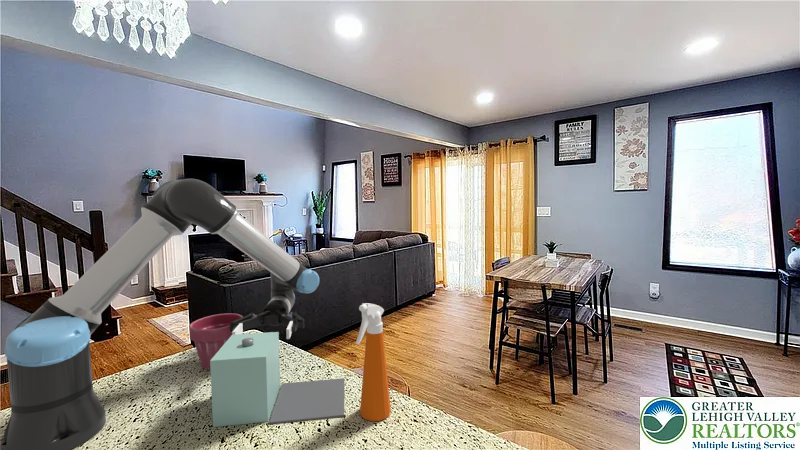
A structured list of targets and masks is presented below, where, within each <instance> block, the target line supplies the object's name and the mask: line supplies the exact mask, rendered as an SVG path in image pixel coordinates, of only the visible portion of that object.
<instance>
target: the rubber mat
mask: <svg viewBox="0 0 800 450" xmlns="http://www.w3.org/2000/svg"><path fill="white" fill-rule="evenodd" d="M342 417H345V378H331V379H319V380H309V381H308V380H307V381H296V382H283V383H281V385H280V389H279V392H278V394H277V397H276V400H275V403H274V406H273V409H272V412H271V415H270V417H269V420H268V425H273V424H274V425H275V424H285V423H286V424H287V423H295V422H301V421H315V420H322V419H333V418H342Z"/></svg>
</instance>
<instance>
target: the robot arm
mask: <svg viewBox="0 0 800 450" xmlns="http://www.w3.org/2000/svg"><path fill="white" fill-rule="evenodd" d="M140 209H141V211H140V212H141V216H140V218H139V219H138V220H137V221H136V222H135V223H134V224H133V225H131V226H130V228H128V230H127V231H126V232H125V233H124V234H123V235H122V236H121V237H120V238H119V239H118V240H116V242H115V243H114V244H113V245H112V246H111V247H109V249H108V250H107V251H106V252H105V253H104V254H103V255H102V256H100V257H99V259H98V260H97V261H96V262H95V263H94V264H93V265H92V266H91V267H90V268H89V269H88V270H87V271H85V273H84V274H83V275H82V276H80V278H79V279H78V280H77V281H76V282H75V283H74V284H72V286H70V288H68V290H67V291H65V292H64V294H62V295H59V296H54V297H49V298H48V299H47V300H46V301H45V302H44V303H43V304H42V305H41V306H40V307H39V308H38V309H37V310H36V311H34V312H33V313H32V314H29V315H28V316H26V317H25V318H23V319H22V320H20V321H19V322H18V324H16V325H15V327H14V328H13V330H12V331H11V332H10V333H9V334H8V336H7V337H6V340H5V345H4V350H3V351H4V352H3V353H4V356H5V357H6V363H7V364H6V365H7V366H6V367H7V376H8V388H9V389H8V390H9V400H10V402H9V403H10V411H11V413H10V416H9V418H8V422H7V425H6V428H5V430H4V433H3V437H2V439H1V442H0V450H73V449H74V448H76V447H78V446H80V445H83V444H84V443H86V442H87V441H89V440H91V439H92V438H93V437H94V436H96V435H97V434H98V433H100V431H101V430H102V429H103V428H104V426H105V425H106V422H107V417H106V416H107V415H106V409H105V407H104V405H102V403H101V400H100V399H99V397H98V396H97V393H96V392H95V389H94V388H93V387H94V386H93V385H94V384H93V371H92V370H93V369H92V359H91V358H92V357H91V356H92V355H91V343H90V342H91V341H90V340H91V335H92V334H93V333H94V332H95V330H97V328H98V327H100V325H101V324H102V322H103V321H102V313H103V312H104V311H105V310H106V309H107V308H108V307H109V305H111V303H112V302H113V301H114V300H115V299H116V298H117V297H118V296H119V294H121V292H122V291H123V290H125V288H126V287H127V286H128V285H129V284H131V282H132V281H133V280H134V278H135V277H136V276H138V274H139V273H140V272H141V271H142V270H143V269H144V268H145V267H146V265H147V264H148V263H149V262H150V261H151V260H152V259H153V258H154V257H155V256H156V255H157V254H158V252H159V251H160V250H161V249H162V248H163V247H164V246H165V245H166V244H167V243H168V242H169V240H170V239H172V237H174V236H182V235H183V234H184V233H185V232H186V231H187V230H188V228H189V227H190V226H191V225H195V226H197V227H200V228H202V229H203V230H205V231H207V232H208V233H209V234H211V235H215V234H217V235H219V236H220V237H221V238H222V239H225V241H227V242H228V243H230V244H232V246H234V247H235V248H237V249H238V250H239V251H241V252H242V253H244V254H245V255H246V256H248V257H249V258H250V259H252V260H253V261H255V262H256V263H258V264H259V265H260V266H261V267H263V268H264V269H266V270H267V271H268V272H270V301H268V303H267V304H266V305H265V307H263V310H262V312H261V313H259V314H255V312H249V313H248V314H247V315H245V316H243V317H242V318H240V319H237V320H235V321H233V322H230V332H232V335H236V334H244V331H247V330H250V329H253V328H255V327H256V328H257V327H263V326H266V325H267V326H268V325H269V326H273V327H275V326H276V327H277V326H286V327H287V328H286V330H285V331H286V340H290V339H291V336H292V333H295V332H297V330H298V329H305V319H304V318H303V317H302V316H300V315H299V313H297V310H292V308H293V307H294V304H295V302H296V296H295V292H294V291H296V292H298V293H301V294H312V293H313V292H315V291H316V290H317V288H318V287H319V285H320V276H319V274H318V273H317V272H316V271H315V270H312V269H310V268H306V267H305V266H304V265H302V263H300V262H299V261H298V260H297V259H296V258H294V257H293V256H292V255H290V254H289V253H288V252H287V251H285V250H284V249H283V248H282V247H280V246H279V245H278V244H277V243H276V242H275V241H273V240H272V239H271V238H269V237H268V236H267V235H266V234H264V232H262V231H261V230H260V229H258V228H257V227H256V226H254V225H253V223H251V222H250V221H249V220H247V219H246V218H245V217H243V216H242V215H241V214H240V213H239V212H238V208H237V206H236V205H235V204H233V202H231V201H230V200H229V199H228V198H227V197H225V196H224V195H223V194H221V193H220V191H218V190H217V189H215V188H214V187H213V186H212V185H210V184H209V183H207V182H205V181H203V180H200V179H196V178H185V179H183V178H182V179H173V180H169V181H166V182H163V183H162V184H161V185H159V186H158V187H157V188H156V189H155V191H154V192H153V194H152V197H151V198H150V199H149V200H148V201H147V202H146V203H145V204H144V205H143V206H141V208H140ZM291 310H292V311H291Z"/></svg>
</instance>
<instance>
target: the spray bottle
mask: <svg viewBox="0 0 800 450" xmlns="http://www.w3.org/2000/svg"><path fill="white" fill-rule="evenodd" d="M358 310H359V311H360V312H361V324H360V328H359V331H358V335H357V338H356V341H355V344H356V345H359V344H360V343H361V342H362V339H363V338H364V336H365V348H364V349H365V350H364V361H363V372H362V373H363V374H362V382H361V383H362V384H361V397H360V407H359V414H360V416H361V417H362V418H363V419H365V420H366V421H369V422H370V421H371V422H380V421H383V420H385V419H386V418H388V417H389V416H390V414H391V412H392V409H391V399H390V398H391V397H390V388H389V380H388V378H389V377H388V371H387V370H388V369H387V368H388V367H387V359H386V349H385V340H384V330H383V327H384V326H383V325H384V323H383V321H382V315H383V314H384V312H385V309H384V308H383V306H380V305H377V304H376V303H375V304H374V303H369V302H368V303H367V302H365V303H364V302H362V303H361V305H359V307H358ZM365 333H366V335H365Z"/></svg>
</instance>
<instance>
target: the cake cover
mask: <svg viewBox="0 0 800 450" xmlns="http://www.w3.org/2000/svg"><path fill="white" fill-rule="evenodd" d="M279 335H280V332H279V331H270V332H256V333H255V332H254V333H252V332H251V333H242V334H236V335H231V337H230V338H229V339H228V340H227V341H226V343H225V344H224V345H223V346H222V347H221V348H220V350H219V351H218V352H217V353H216V354H215V356H214V357H213V358H212V359H211V360H210V369H209V370H210V386H211V387H210V389H211V412H212V427H213V428H216V427H217V428H218V427H228V426H229V427H230V426H237V425H238V426H239V425H248V424H257V423H269V421H270V418H271V415H272V412H273V409H274V406H275V403H276V401H277V398H278V395H279V392H280V389H281V372H280V371H281V370H280V368H281V366H280V365H281V364H280V336H279Z"/></svg>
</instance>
